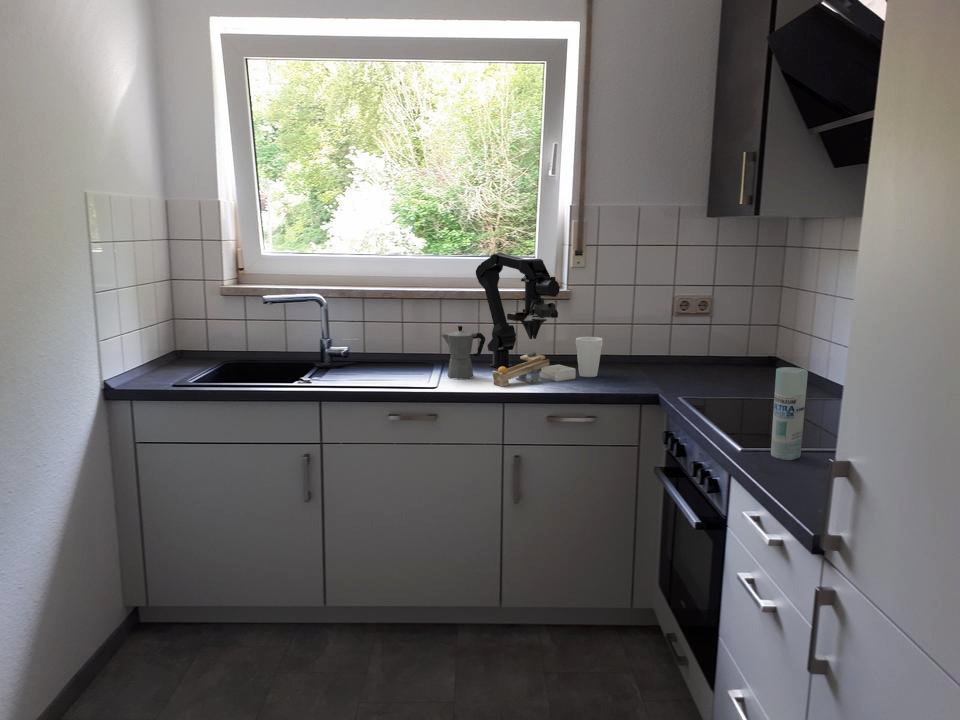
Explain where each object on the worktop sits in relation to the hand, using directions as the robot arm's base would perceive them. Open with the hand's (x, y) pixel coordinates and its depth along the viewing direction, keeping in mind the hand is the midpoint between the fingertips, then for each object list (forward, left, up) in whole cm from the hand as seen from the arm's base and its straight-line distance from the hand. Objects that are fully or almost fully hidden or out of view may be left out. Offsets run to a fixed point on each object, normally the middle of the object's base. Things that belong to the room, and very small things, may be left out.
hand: (532, 338), depth 257 cm
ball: (+10, -20, -8) cm, 24 cm away
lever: (+6, -10, -10) cm, 15 cm away
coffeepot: (-9, -24, -13) cm, 28 cm away
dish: (+11, +3, -12) cm, 17 cm away
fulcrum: (+10, -9, -12) cm, 18 cm away
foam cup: (+13, +15, -13) cm, 24 cm away
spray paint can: (+108, -9, -13) cm, 109 cm away
